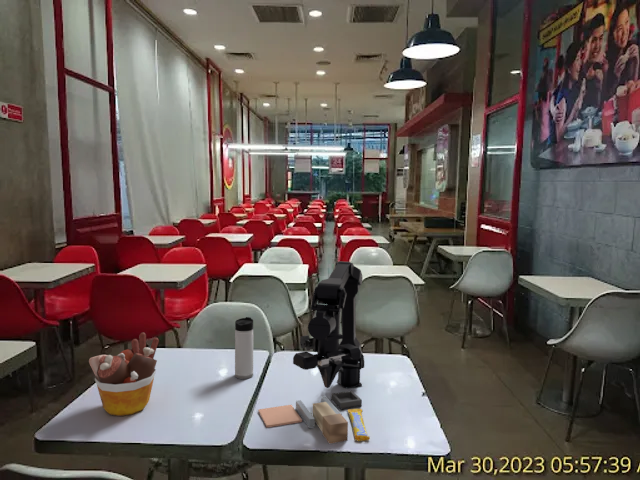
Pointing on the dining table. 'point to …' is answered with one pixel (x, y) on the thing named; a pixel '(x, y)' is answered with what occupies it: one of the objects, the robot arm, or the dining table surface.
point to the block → (335, 428)
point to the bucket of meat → (126, 377)
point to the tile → (279, 415)
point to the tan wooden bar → (321, 413)
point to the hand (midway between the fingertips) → (327, 387)
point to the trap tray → (346, 400)
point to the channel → (307, 415)
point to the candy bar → (358, 425)
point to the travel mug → (244, 348)
